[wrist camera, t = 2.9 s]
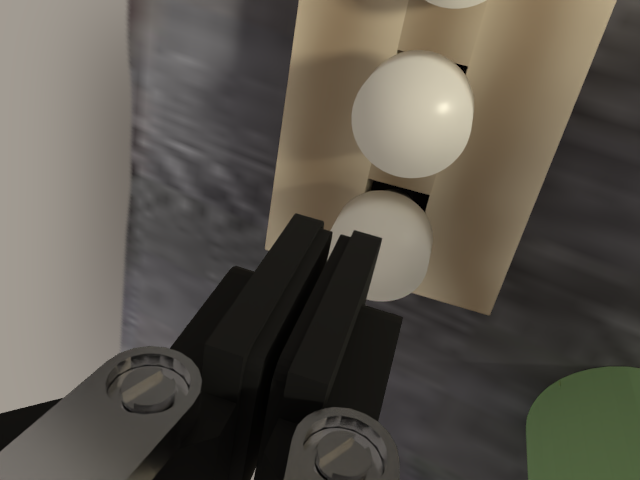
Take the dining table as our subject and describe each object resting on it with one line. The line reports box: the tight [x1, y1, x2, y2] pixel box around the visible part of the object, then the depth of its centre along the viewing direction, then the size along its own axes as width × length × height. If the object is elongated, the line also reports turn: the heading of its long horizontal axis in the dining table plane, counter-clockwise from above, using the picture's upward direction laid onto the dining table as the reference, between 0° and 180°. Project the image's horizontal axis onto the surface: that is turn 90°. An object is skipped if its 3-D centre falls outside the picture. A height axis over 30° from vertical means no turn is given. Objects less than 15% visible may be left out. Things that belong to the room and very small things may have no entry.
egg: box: [327, 189, 433, 302], centre depth 27 cm, size 4×4×5 cm
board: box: [265, 0, 617, 316], centre depth 25 cm, size 12×26×3 cm, turn 171°
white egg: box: [352, 50, 474, 178], centre depth 24 cm, size 4×4×5 cm
